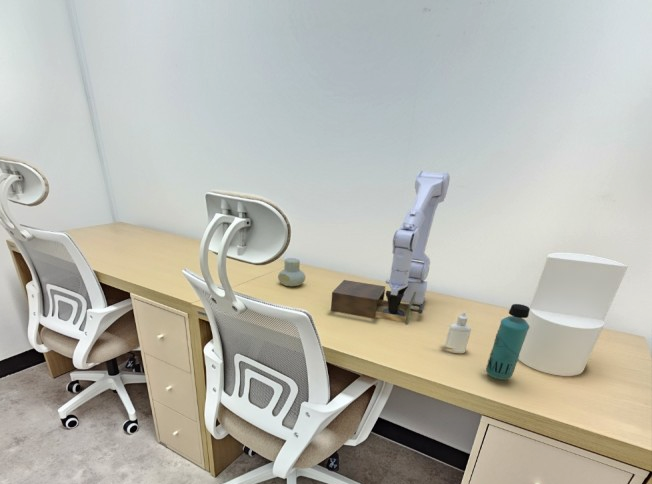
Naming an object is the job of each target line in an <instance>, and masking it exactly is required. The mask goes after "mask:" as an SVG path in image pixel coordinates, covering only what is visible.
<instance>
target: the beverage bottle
mask: <svg viewBox="0 0 652 484" xmlns="http://www.w3.org/2000/svg"><path fill="white" fill-rule="evenodd" d="M529 310H530V306H527V305H524V304H522V303H521V304H520V303H513V304H511V306H510V309H509V310H508V314H509V316H505V317H504V318H502V319H500V323H499V327H498V329H497V332H496V334H495V338H494V341H493V344H492V345H493V346H492V348H491V351H490V353H489V356H488V359H487V363H486V367H485V368H486V369H485V371H486V373H487V374H488V375H489V376H490V377H492V378H495V379H499V380H508V379H511V378H512V377H513V375H514V372H515V370H516V367H517V364H518V361H519V359H518V357H520V356H519V354H520V351H521V348H522V346H523V343H524V340H525V337H526V334H527V332H528V329H529V324H528V323H527V322H526V318H527V317H528V315H529Z"/></svg>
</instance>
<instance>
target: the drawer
mask: <svg viewBox="0 0 652 484" xmlns="http://www.w3.org/2000/svg"><path fill="white" fill-rule="evenodd" d="M415 296H416V292H414V294H413V296H412V298H411V301H410V303H405V302H400V304H399V305H398V309H399V310H402V311H403V312H404V316H399V315H394V314H388V313H383V310H384V309H386V308H388V300H387V299H384V300H380V299H378V301H377V308H376V315H375V318H377V319H383V320H389V321H393V322H399V323H404V325H408V324H409V321H410V318H411V316H412V313H413V312H414V313H418V314H419V315H422V314H423V312H424V309H425V307H426V306H425V304H424V303H423V304H417V303H414V302H415ZM415 307H417V308H418V309H417V308H415Z"/></svg>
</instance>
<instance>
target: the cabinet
mask: <svg viewBox="0 0 652 484" xmlns="http://www.w3.org/2000/svg"><path fill="white" fill-rule="evenodd" d="M386 287H387V286H385V285H380V284H373V283H367V282H360V281H354V280H347V279H344V280H342V282H340V284H339V285H338V286H336V288H334V290H333V291H332V292H331V304H330V312H336V313H341V314H347V315H353V316H358V317H363V318H370V319H376V317H375V315H376V308H377V301H378V299H380V300H385V295H386Z"/></svg>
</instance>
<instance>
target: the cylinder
mask: <svg viewBox="0 0 652 484" xmlns="http://www.w3.org/2000/svg"><path fill="white" fill-rule="evenodd" d="M628 268H629V266H628V265H626V264H624V263H623V262H619V261H618V260H614V259H612V258H611V259H610V258H606V257H604V256H603V257H602V256H597V255H592V254H586V253H580V252H579V253H578V252H566V251H565V252H563V251H562V252H561V251H559V252H551V253H549V254H547V256H546V259H545V261H544V265H543V267H542V271H541V273H540V276H539V279H538V281H537V285H536V288H535V291H534V293H533V296H532V299H531V302H530V305H529V308H530V310H529V315H528V317H527V318H525V320H526V322H527V323H528V324H529V329H528V332H527V334H526V337H525V340H524V343H523V346H522V348H521V351H520V354H519V356H520V357H518V361H519V362H521V363H523V364H524V365H526V366H528V367H530V368H532V369H534V370H537V371H539V372H541V373H546V374H550V375H555V376H560V377H572V376H578V375H580V374H582V373H583V372H584V370H585V368H586V366H587V364H588V361H589V359H590V357H591V355H592V352H593V350H594V348H595V346H596V345H597V341H598V339H599V338H600V335H601V333H602V332H603V331H602V330H603V328H604V327H605V325H606V324H605V319H606V316H607V315H608V312H609V310H610V308H611V305H612V303H613V301H614V299H615V297H616V294H617V292H618V289H619V288H620V286H621V284H622V281H623V279H624V276H625V275H626V272H627V270H628Z"/></svg>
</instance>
